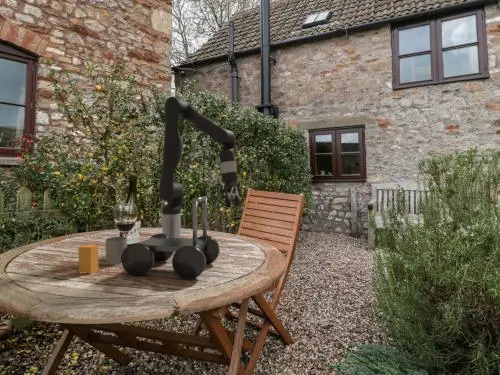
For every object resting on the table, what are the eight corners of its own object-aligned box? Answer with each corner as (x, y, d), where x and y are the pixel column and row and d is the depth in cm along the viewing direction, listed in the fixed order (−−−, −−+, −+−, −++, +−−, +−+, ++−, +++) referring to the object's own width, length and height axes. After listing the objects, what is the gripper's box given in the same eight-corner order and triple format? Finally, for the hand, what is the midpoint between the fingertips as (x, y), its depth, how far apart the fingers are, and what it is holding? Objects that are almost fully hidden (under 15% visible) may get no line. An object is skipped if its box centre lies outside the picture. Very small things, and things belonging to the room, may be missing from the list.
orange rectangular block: (78, 273, 122) (78, 247, 122) (86, 269, 126) (86, 244, 126) (90, 274, 121) (90, 247, 121) (98, 270, 126) (98, 245, 125)
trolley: (121, 275, 120) (120, 197, 119) (148, 259, 141) (148, 194, 140) (204, 280, 115) (204, 199, 113) (219, 264, 136) (219, 195, 134)
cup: (110, 259, 141) (109, 237, 141) (129, 259, 142) (129, 236, 141) (103, 265, 133) (102, 241, 132) (123, 264, 133) (123, 240, 133)
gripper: (229, 173, 158) (233, 206, 157) (213, 173, 145) (218, 208, 144) (243, 171, 154) (247, 204, 154) (228, 170, 142) (232, 207, 141)
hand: (233, 206), depth 149 cm, fingers open, 8 cm apart
